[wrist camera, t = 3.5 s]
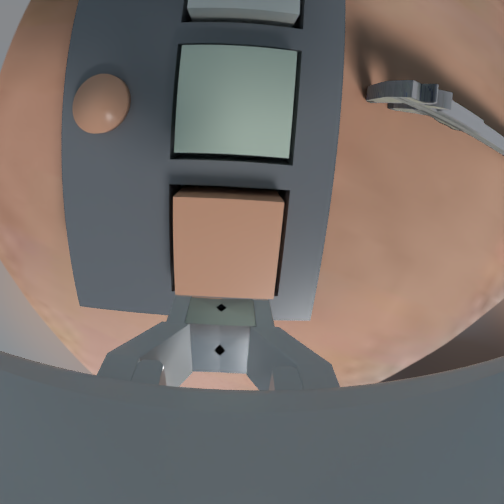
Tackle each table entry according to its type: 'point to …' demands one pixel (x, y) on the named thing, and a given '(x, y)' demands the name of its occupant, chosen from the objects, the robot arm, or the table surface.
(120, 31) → the button panel
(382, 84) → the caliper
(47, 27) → the table surface
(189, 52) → the sage button
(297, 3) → the white button
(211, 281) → the terracotta button
